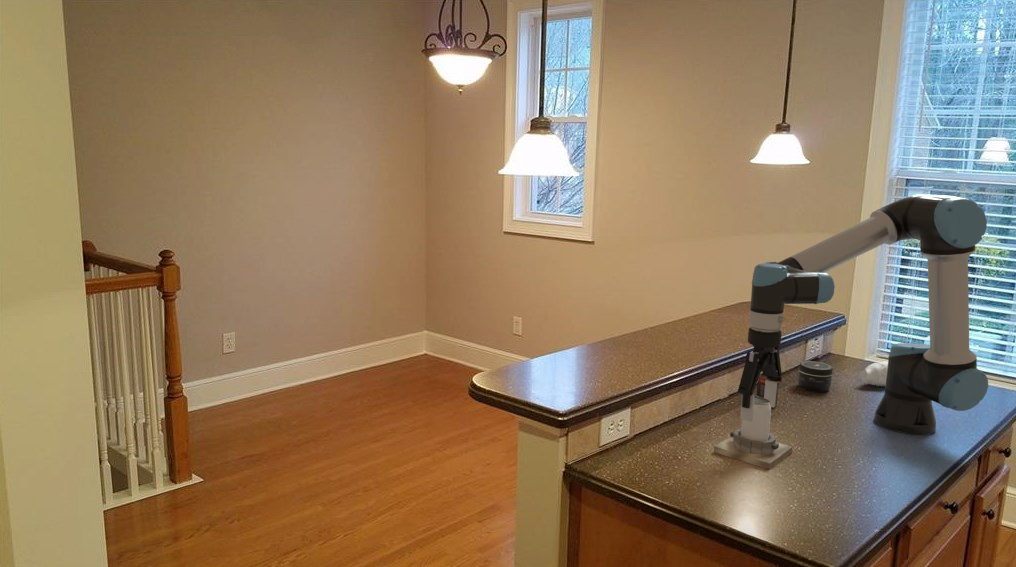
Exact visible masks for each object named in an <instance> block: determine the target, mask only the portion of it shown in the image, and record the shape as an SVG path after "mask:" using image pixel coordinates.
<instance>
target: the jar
mask: <svg viewBox="0 0 1016 567" xmlns="http://www.w3.org/2000/svg"><path fill="white" fill-rule="evenodd" d="M833 371H834V370H833V366H832V365H830V364H827V363H825V362H820V361H814V360H813V361H812V360H806V361H805V360H804V361H801V362H799V365H798V375H797V384H798V386H799V388H800V389H802V390H805V391H808V392H813V393H826V392H828V391H829V390H830V388H831V386H832V378H833Z"/></svg>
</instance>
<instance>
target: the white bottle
mask: <svg viewBox="0 0 1016 567" xmlns="http://www.w3.org/2000/svg"><path fill="white" fill-rule="evenodd" d="M887 368H888V360H885V361H877V362H873V363H872V364H869V365H868V366H866V368H864V369H863V370H860V371H859V372H858V377H859V379H860V380H861V381H862V382H863V384H864V385H868V384H869V385H872V386H875V385H876V386H875V387H879V386H881V387H885V385H886V377H887Z"/></svg>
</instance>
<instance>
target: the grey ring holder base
mask: <svg viewBox="0 0 1016 567" xmlns="http://www.w3.org/2000/svg"><path fill="white" fill-rule="evenodd" d="M729 434H730V435H729V437H727V438H725V439H723V440H722V441H720V442H719V443H717V444H716V445H714V446H713V453H716V454H718V455H719V454H720V455H723V456H726V457H729V458H732V459H736V460H738V461H740V462H744V463H748V464H751V465H754V466H757V467H761V468H763V469H767V470H770V469H772V468H773V467H774V466H776V465H778V463H780V462H781V461H783V460H784V459H785V458H787V457H788V456H789V455H791V454H792V453H793V446H790V445H788V444H784V443H780V442H777V441H776V435H775V434H773V433H771V432H769V436H768V441H753V440H749V439H746V438H743V437H742V436H741V427H740V428H737V429H735V430H733V431H730V433H729Z"/></svg>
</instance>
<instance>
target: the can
mask: <svg viewBox="0 0 1016 567" xmlns="http://www.w3.org/2000/svg"><path fill="white" fill-rule="evenodd" d="M771 413H772V408H771V406H770V401H769V400H768V399H765V398H762V397H756V396H754V407H753V419H752V422H750V421H746V420H742V419H741V427H740V428H741V436H742V437H743V438H746V439H749V440H753V441H768V436H769V433H770V426H771V425H770V424H771V416H772V414H771Z"/></svg>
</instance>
